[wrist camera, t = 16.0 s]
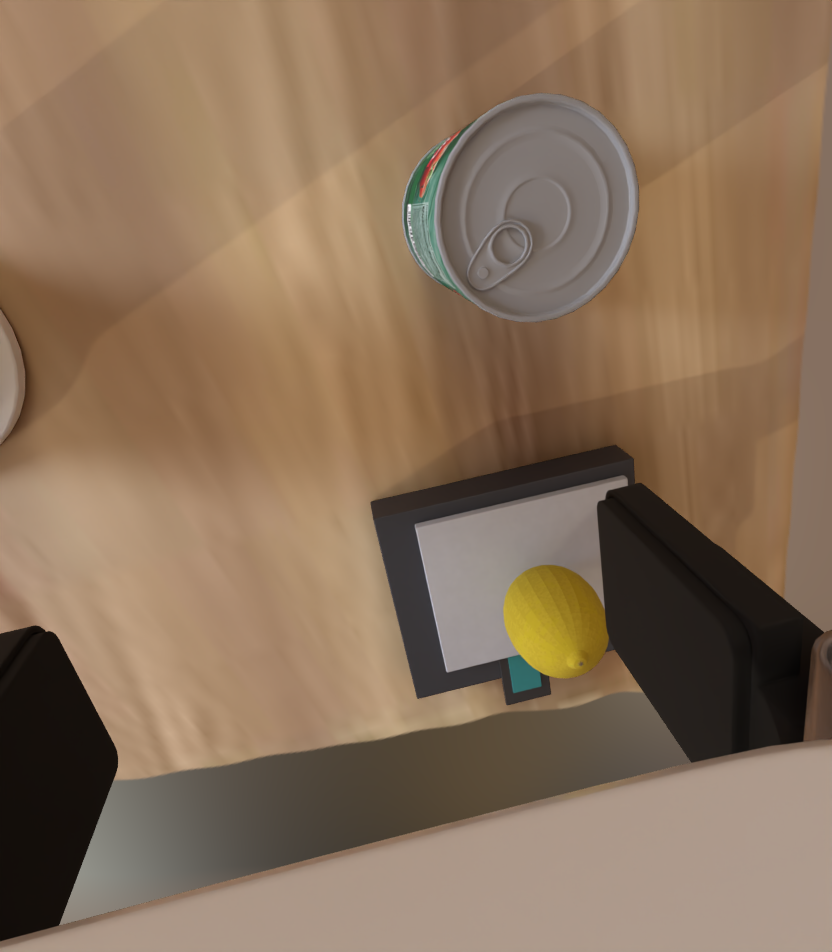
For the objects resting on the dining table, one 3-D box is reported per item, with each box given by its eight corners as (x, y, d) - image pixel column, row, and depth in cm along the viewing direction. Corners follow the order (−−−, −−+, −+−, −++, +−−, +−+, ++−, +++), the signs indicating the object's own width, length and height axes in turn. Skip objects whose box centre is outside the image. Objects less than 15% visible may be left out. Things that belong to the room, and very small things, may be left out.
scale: (418, 698, 45) (424, 730, 42) (370, 501, 39) (373, 523, 36) (628, 646, 46) (648, 674, 43) (616, 444, 40) (638, 461, 37)
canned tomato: (477, 94, 31) (551, 34, 21) (575, 213, 34) (681, 211, 24) (369, 217, 32) (390, 217, 22) (471, 322, 35) (530, 363, 25)
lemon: (583, 599, 40) (641, 684, 33) (502, 629, 40) (542, 721, 33) (563, 528, 38) (621, 603, 30) (478, 560, 38) (515, 642, 30)
